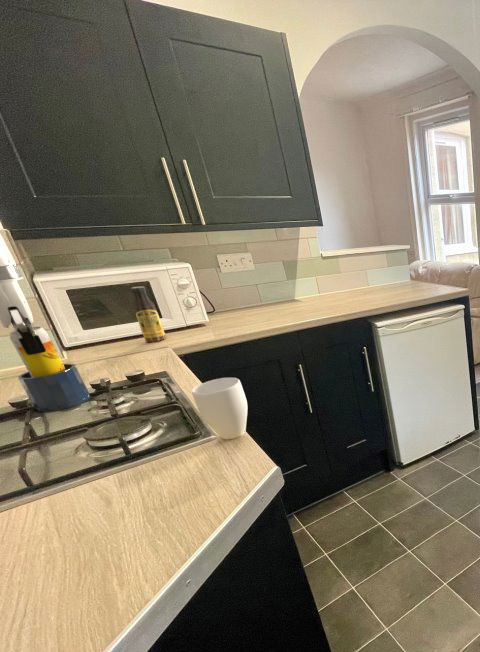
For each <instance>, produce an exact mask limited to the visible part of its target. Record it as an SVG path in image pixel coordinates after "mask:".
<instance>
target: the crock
mask: <svg viewBox="0 0 480 652" xmlns="http://www.w3.org/2000/svg"><path fill="white" fill-rule="evenodd" d="M63 365H64V367H65V369H66V370H64V371H62V372H58V373H55V374H51V375H46V376H41V377H34V378H32V377H31V375H30V373H29V372H28V371H26V372H24V373H22V374H20V375H18V376H17V378H18V381H19V382H20V384H21V386H22V388H23V390H24V391H25V393H26V395H27V396H28V398H29V401H30V402H31V404H32V405H33V407H34V409H36V408H38V409H39V410H40V411H41V412H40V413H51V412H58V411H62V410H66V409H71V408H73V407H76V406H79V405H82V404H83V403H85V402H87V401H89V400H90V399H91V398H92V396H91V394H90V392H89V390H88V388H87V386H86V384H85V382H84V380H83V377H82V376H81V373H80V371H79V370H78V368H77V366H76V364H75V363H63Z"/></svg>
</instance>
